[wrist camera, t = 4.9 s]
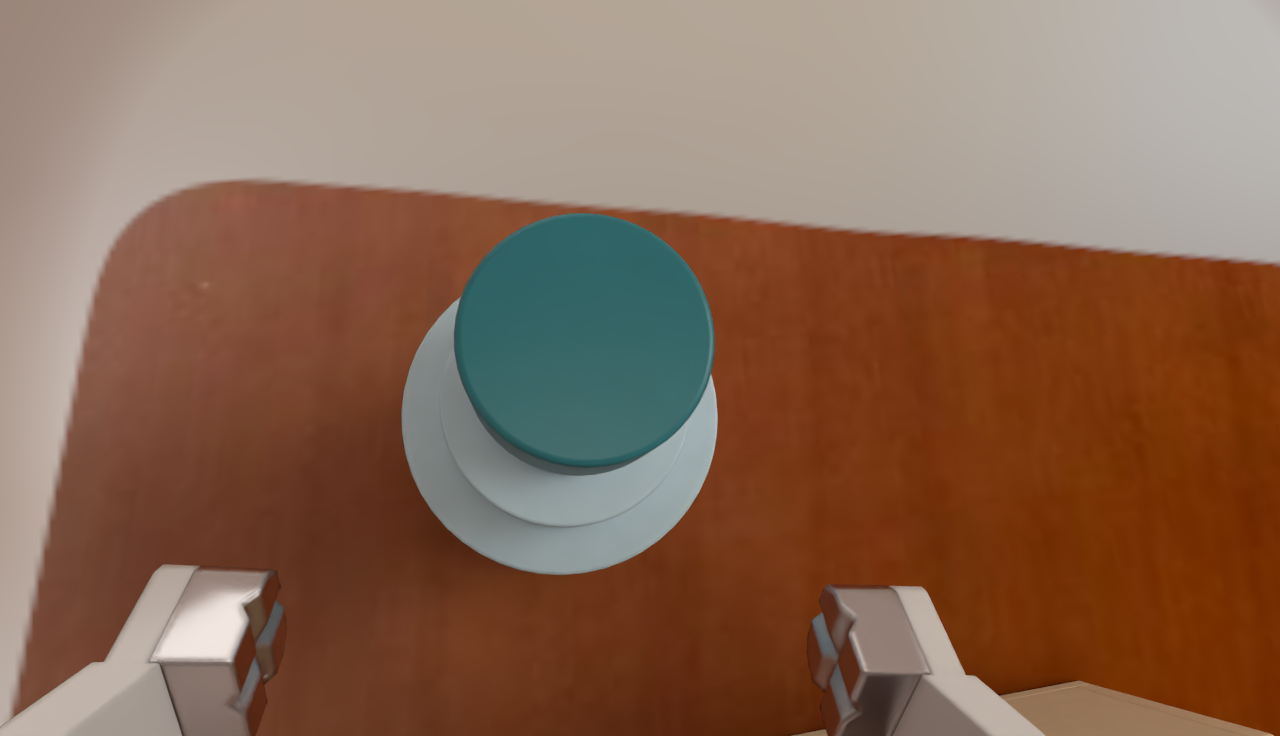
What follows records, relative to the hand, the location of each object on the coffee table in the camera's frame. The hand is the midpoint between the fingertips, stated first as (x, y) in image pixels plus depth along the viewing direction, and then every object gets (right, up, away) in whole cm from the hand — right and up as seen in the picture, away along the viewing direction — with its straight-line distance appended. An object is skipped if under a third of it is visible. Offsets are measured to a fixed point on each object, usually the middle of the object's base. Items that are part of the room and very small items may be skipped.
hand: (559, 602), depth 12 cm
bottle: (-1, +1, +11) cm, 11 cm away
